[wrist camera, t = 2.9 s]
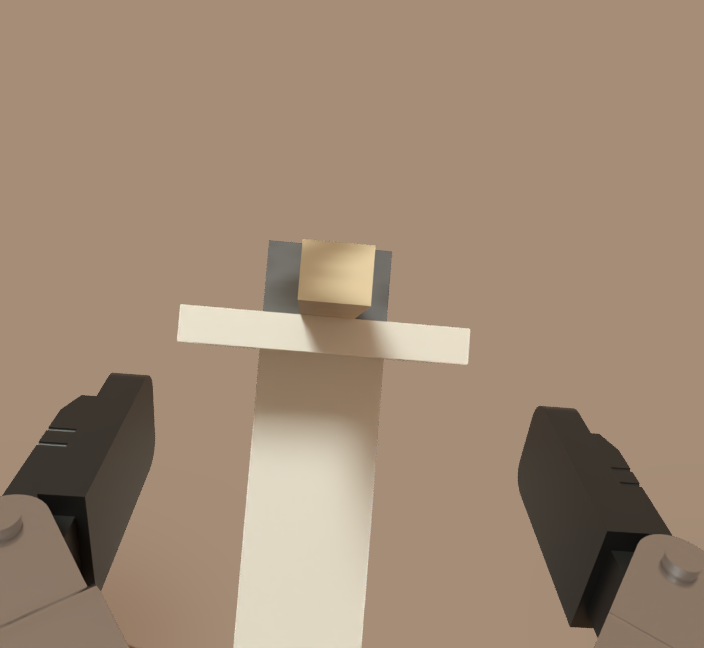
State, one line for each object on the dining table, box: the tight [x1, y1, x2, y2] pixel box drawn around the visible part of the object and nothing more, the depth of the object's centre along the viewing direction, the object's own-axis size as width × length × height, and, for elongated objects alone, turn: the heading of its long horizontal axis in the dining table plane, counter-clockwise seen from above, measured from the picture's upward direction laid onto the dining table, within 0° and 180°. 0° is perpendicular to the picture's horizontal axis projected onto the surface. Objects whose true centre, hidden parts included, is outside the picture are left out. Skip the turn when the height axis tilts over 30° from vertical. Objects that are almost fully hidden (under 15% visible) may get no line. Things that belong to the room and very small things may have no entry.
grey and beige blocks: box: [263, 239, 392, 322], centre depth 36 cm, size 8×21×5 cm, turn 4°
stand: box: [177, 304, 470, 648], centre depth 40 cm, size 16×13×32 cm
